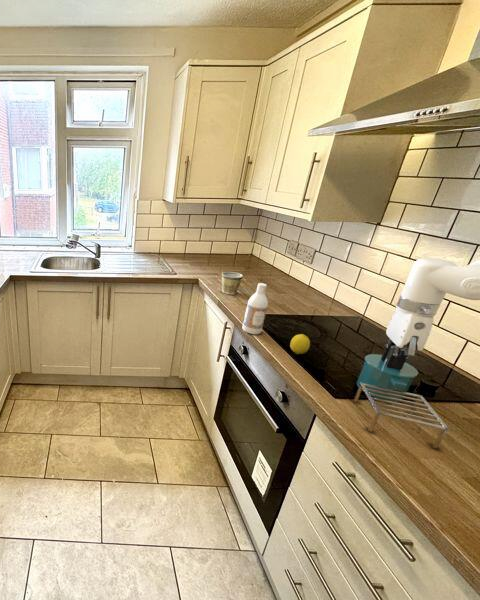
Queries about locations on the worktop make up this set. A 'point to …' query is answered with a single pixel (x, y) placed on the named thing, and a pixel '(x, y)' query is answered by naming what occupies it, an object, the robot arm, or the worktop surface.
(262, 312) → the bath foam
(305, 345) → the lemon
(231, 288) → the ceramic cup
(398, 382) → the pot
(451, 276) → the robot arm
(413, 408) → the rack
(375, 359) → the lid
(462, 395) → the worktop surface
